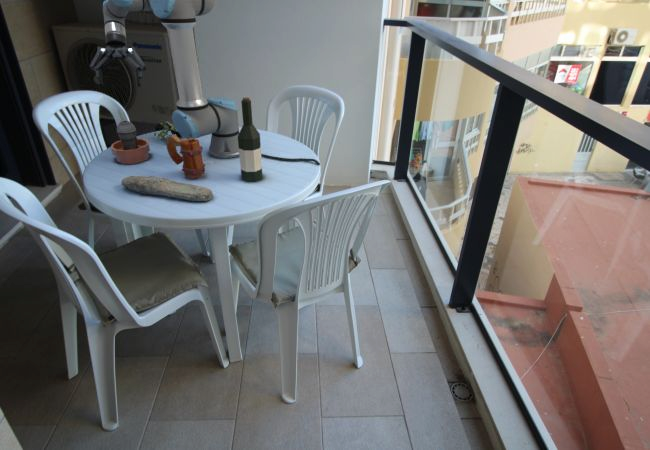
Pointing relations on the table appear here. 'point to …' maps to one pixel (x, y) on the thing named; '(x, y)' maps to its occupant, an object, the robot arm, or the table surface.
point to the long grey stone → (167, 188)
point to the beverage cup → (127, 134)
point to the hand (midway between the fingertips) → (120, 85)
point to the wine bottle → (249, 146)
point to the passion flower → (168, 127)
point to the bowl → (131, 152)
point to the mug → (187, 155)
